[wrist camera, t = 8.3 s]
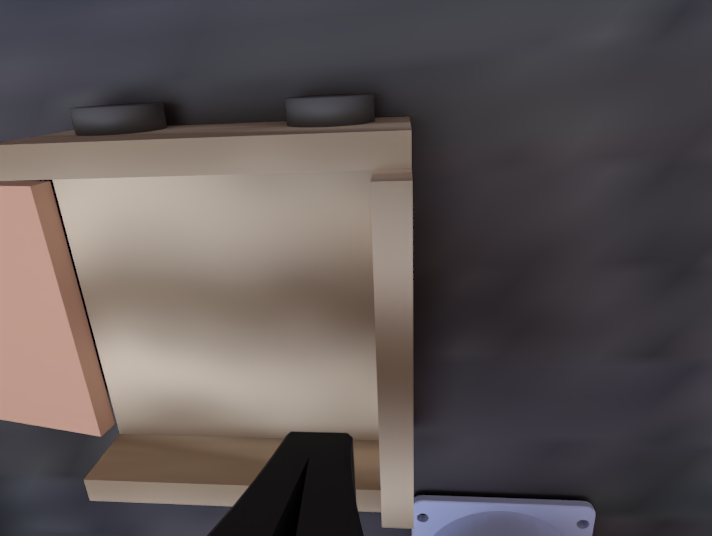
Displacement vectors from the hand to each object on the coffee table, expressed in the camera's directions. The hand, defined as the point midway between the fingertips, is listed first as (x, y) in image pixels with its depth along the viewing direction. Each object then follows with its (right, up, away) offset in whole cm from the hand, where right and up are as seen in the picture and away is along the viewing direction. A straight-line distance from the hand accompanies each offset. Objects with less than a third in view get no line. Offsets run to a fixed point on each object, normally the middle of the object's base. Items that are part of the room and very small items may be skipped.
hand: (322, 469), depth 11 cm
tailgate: (-9, +3, +8) cm, 12 cm away
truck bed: (-3, +3, +9) cm, 10 cm away
